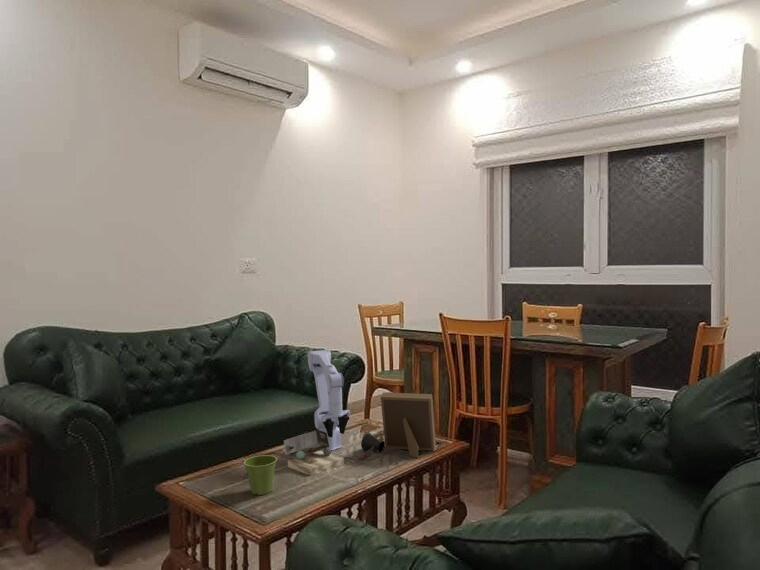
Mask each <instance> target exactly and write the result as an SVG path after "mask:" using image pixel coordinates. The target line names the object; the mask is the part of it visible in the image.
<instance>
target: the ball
mask: <svg viewBox="0 0 760 570" xmlns="http://www.w3.org/2000/svg"><path fill="white" fill-rule="evenodd" d="M323 453H324V455H326V456H328V455H330V454H332V451H331V449H330V448H329V447H326V448H324V450H323Z"/></svg>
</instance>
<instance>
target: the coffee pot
mask: <svg viewBox="0 0 760 570" xmlns="http://www.w3.org/2000/svg"><path fill="white" fill-rule="evenodd" d="M360 446H361V449H362V450H363V451H365V452H364V453H363V454H361V455H358V456H357V458H356V459H357V460H358V461H359V462H362V461H364V460H365V459H366V458H367V457H368V455H369V454H370V453H372V452H373V451H376V452H377V451H378V453H381V452H384V450H385V440H380V439H378V438H377V437H375V436H374V435H373V434H372V433H371V432H366V433H365V434H364V435H363V436H362V439H361V442H360Z"/></svg>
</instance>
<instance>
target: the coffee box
mask: <svg viewBox="0 0 760 570" xmlns="http://www.w3.org/2000/svg"><path fill="white" fill-rule="evenodd" d="M283 446H284V453H285V455H284V456H287V457H288V456H289V457H292V458H296V457H297V456H296V454H297V452H298V451H303V452H304V453H305V455H308V454H311V453H314V452H318V451H321V450H322V449H324V448H326V447H329V443H328V437H327V433H326V432H323V431H319V429H315V430H312V431H311V430H310V431H309V432H305V433H303V434H298V435H297V436H293V437H291V438H287V439H285V440H283Z"/></svg>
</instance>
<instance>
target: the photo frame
mask: <svg viewBox="0 0 760 570" xmlns="http://www.w3.org/2000/svg"><path fill="white" fill-rule="evenodd" d="M380 405H381V416H382V425H383V437H384V442H385V447H384V449H395V450H408V453H409V457H412V456H414V457H413V458H415V457H418V458H419V451H424V450H434V449H435V450H436V447H437V445H436V444H437V443H436V442H437V441H436V440H437V439H436V429H435V428H436V427H435V417H434V416H435V414H434V400H433V394H432V393H412V392H411V393H407V392H384V391H383V392H382V394H381V396H380ZM435 450H434V451H435Z"/></svg>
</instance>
